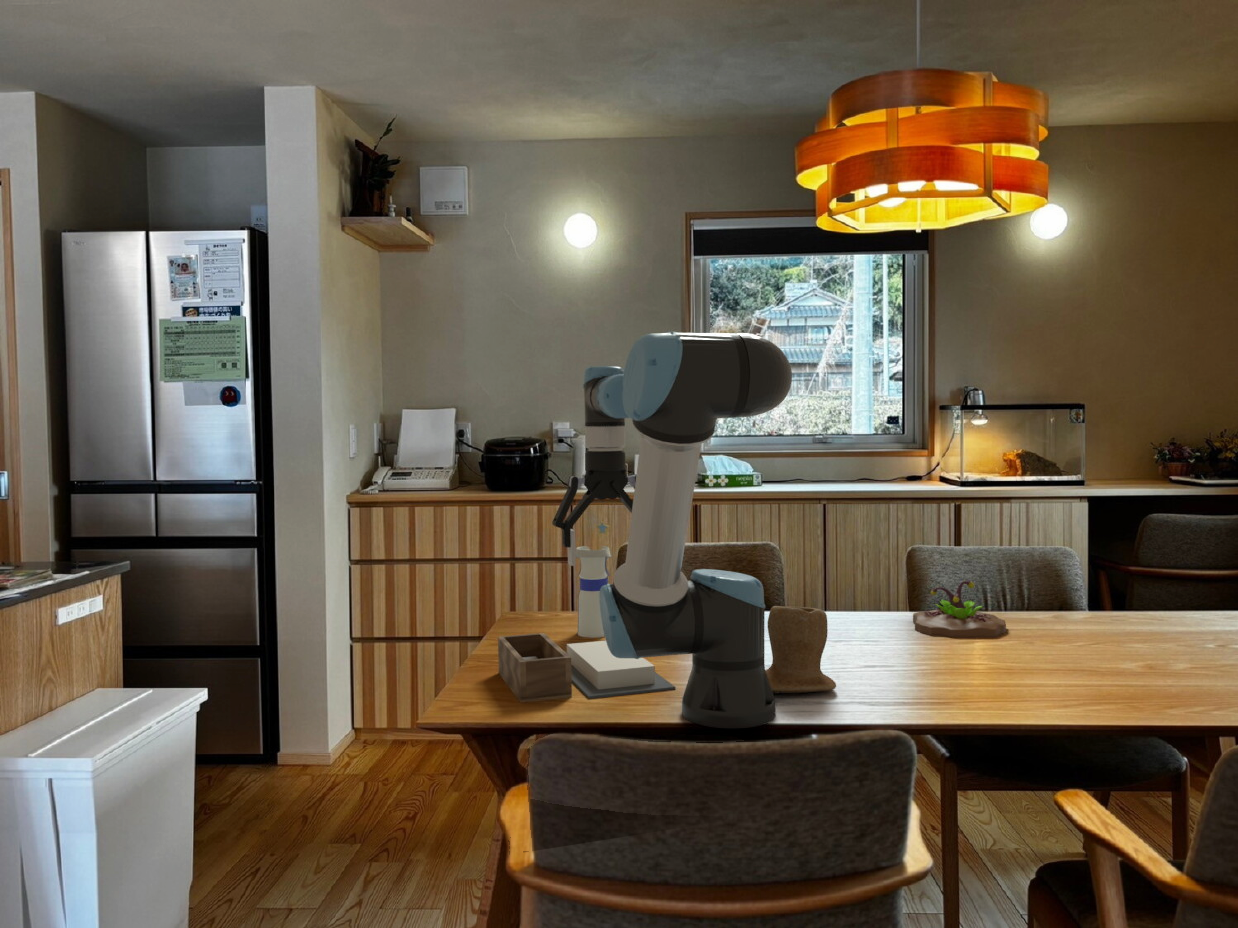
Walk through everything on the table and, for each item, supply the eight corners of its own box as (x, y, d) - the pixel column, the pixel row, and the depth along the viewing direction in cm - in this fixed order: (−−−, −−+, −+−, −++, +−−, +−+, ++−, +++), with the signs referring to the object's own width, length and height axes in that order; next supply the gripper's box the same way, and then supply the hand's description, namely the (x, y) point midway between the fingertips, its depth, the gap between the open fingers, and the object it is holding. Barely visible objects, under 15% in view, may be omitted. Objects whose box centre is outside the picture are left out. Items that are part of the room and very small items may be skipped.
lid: (654, 683, 171) (654, 665, 171) (598, 689, 168) (598, 671, 168) (617, 655, 192) (617, 639, 192) (566, 660, 189) (566, 644, 189)
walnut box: (571, 697, 165) (571, 657, 165) (520, 702, 163) (520, 662, 162) (544, 668, 184) (544, 632, 184) (498, 673, 182) (497, 636, 181)
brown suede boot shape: (823, 679, 175) (823, 598, 174) (842, 698, 163) (842, 611, 162) (741, 681, 174) (741, 600, 173) (754, 700, 162) (753, 613, 161)
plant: (1012, 642, 202) (1012, 590, 201) (915, 638, 207) (916, 586, 206) (999, 622, 221) (1000, 574, 221) (911, 618, 226) (912, 571, 226)
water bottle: (577, 629, 218) (575, 520, 217) (614, 629, 217) (612, 520, 216) (572, 637, 210) (570, 524, 209) (610, 637, 209) (609, 524, 208)
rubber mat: (675, 689, 169) (675, 686, 169) (588, 698, 164) (588, 696, 164) (625, 652, 196) (625, 650, 196) (549, 659, 191) (549, 657, 191)
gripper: (660, 447, 186) (662, 555, 187) (535, 450, 178) (537, 563, 179) (674, 448, 178) (676, 561, 179) (544, 451, 171) (546, 569, 172)
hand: (606, 562), depth 179 cm, fingers open, 13 cm apart
